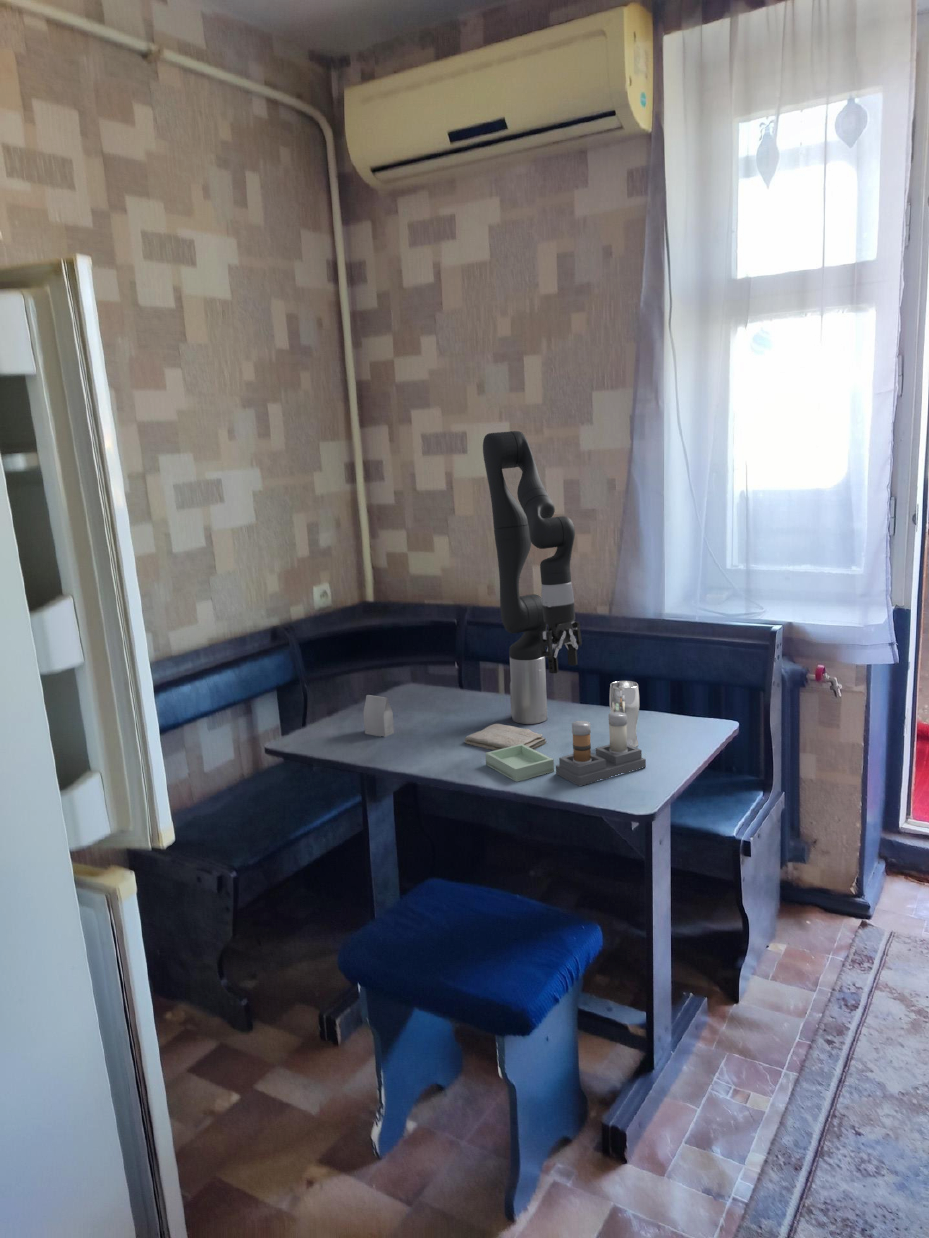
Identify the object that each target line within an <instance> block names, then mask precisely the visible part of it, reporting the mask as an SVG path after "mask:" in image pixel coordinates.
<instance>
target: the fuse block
mask: <svg viewBox="0 0 929 1238" xmlns="http://www.w3.org/2000/svg"><path fill="white" fill-rule="evenodd" d="M609 749H610V743H609V744H606V745H602V746H599V747H596V748H595V754H594V753H592V752H591V760H592V762H588V763H584V764H581V765H579V764H577V763H575V762H573V754H568V755H564V756H561V757H558V760H559V761H558V763H559V764H557V765H556V764H555V775H557V776H559V777H560V778H563V779H565V780H567V781H569V782H571V783H572V784H574V783H575V784H574V785H577V786H578V785H584V786H587V785H590V784H589V783H591V782H594V783H596V782H595V781H597V780H600V779H605V780H607V779H606V778H608V779H610V778H609V777H611V776H615V775H618V774H621V773H626V774H628V773H627V772H629V771H632V770H636V769H639V768H642V767H646V768H647V761H646V758H644V757H643V755H642V754H643V753H642V749H640V748H638V747H633V746H631V745H628V744H627V751H628V752H625V753H621V754H617V755H616V754H614V753H611V752H609ZM636 771H637V770H636ZM629 773H630V772H629ZM615 777H616V776H615ZM586 784H587V785H586ZM591 784H592V783H591Z"/></svg>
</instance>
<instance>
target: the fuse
mask: <svg viewBox="0 0 929 1238" xmlns="http://www.w3.org/2000/svg"><path fill="white" fill-rule="evenodd" d="M626 724H627V714H625V713H622V712H613V713H611V712H609V713H608V730H609V735H608V736H609V744H610V749H609V752H611V753H614V754H616V755H617V754H621V753H625V752H628V751H627V726H626Z"/></svg>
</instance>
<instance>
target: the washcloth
mask: <svg viewBox="0 0 929 1238" xmlns="http://www.w3.org/2000/svg"><path fill="white" fill-rule="evenodd" d="M546 743H547V740H546V738H545V737H543V734H542V733H537V732H534V731H532V730H531V729H529V728H521V727H517V726H513V725H506V724H502V723H493V724H490V725H487V726H486V727H484V728H483V729H482V730H481V729H480V730H479V731H475V732H473V733H471V734H469V735H467V736H465V738H464V744H467V745H471V746H475V747H477V748H478V747H480V748H482V749H487V750H492V751H495V750H499V749H503V748H507V747H511V746H515V745H519V744H523V745H526V746H528V747H530V748H532V749H534V750H536V749H537V748H540V747H542V746H544V745H545V744H546Z"/></svg>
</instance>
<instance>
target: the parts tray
mask: <svg viewBox="0 0 929 1238" xmlns="http://www.w3.org/2000/svg"><path fill="white" fill-rule="evenodd" d="M554 762H555V760H554V759H553V758H551V757H550V756H548V755H546V754H544V753H542V752H540V751H537V750H536V749H532V748H530V747H528V746H526V745H523V744H519V745H515V746H511V747H507V748H503V749H499V750H492V751H488V752H485V765H486V766H487V767H489V768H491V769H493V770H495V771H496V772H498V773H500V774H501V775H503V776H505V777H507V778H509V779H511V780H512V781H514V782H521V781H526V780H528V779H533V778H535V777H539V776H542V775H546V773H547V774H550V773H554V772H555V763H554Z"/></svg>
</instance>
